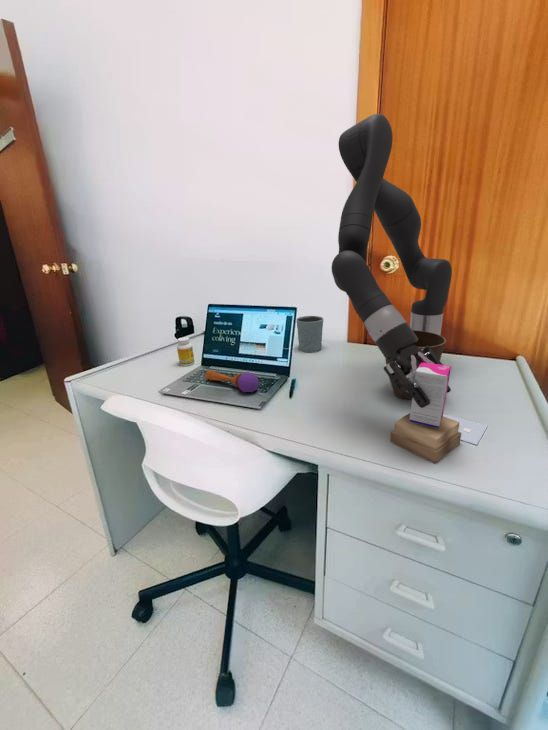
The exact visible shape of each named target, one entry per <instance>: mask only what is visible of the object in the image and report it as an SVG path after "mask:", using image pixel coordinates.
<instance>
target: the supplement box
mask: <svg viewBox="0 0 548 730" xmlns="http://www.w3.org/2000/svg"><path fill="white" fill-rule="evenodd" d="M451 370H452V366H451V365H444V364H442V365H439V364H433V363H426V362H421V364H420V365H419V367H418V368H417V370H416V373H415V379H416V380H417V381H418V385H419V386H418V387H421V389H422V390H423V392H424V393H425V395H426V396H427V397H428V399H429V400H430V404H429V405H427V406H425V407H423V408H421V407H420V406H419V405H418V404H417V403H416V401H415V400H414V399H413V397H412V399H411V406H410V412H411V413H410V412H409V413H410V419H409V422H412V423H416V424H421V425H425V426H429V427H434V428H439V425H440V422H441V419H442V417H443V414H445V411H444V410H445V406H446V401H447V400H446V399H447V395H448V393H447V389H448V385H449V382H450V377H451V372H452V371H451Z"/></svg>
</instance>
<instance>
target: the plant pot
mask: <svg viewBox="0 0 548 730" xmlns="http://www.w3.org/2000/svg"><path fill="white" fill-rule="evenodd" d="M412 331H413V332H414V333H415V335H416V336H417V338H418V341H417V343H416V345H417V347H418V348H420V349H423V348H424V347H426V346H430V348H431V349H432V350H433V352H434V353H435V355H436V356H437V357H438V359H439V360H440V361H441V358H442V355H443V351H444V349H445V346H446V342H447V341H446V338H445V337H444V336H442V335H441V336H440V335H438V334H435V333H431V332H426V331H417V330H412ZM384 358H385V357H384ZM390 362H392V360H391V359H386V358H385V363H386V365H387V364H389V363H390ZM433 363H434V364H435V362H433ZM386 365H385V366H386ZM398 380H399V382H400V383H401V385H402V384H403V382H402V381H401V379H400V378H399V379H398ZM389 382H390V386H391V387H392V391H393V394H394V395H395V396H396V397H398V398H401V399H404V400H405V399H406V400H412V396H411V394H410V393H409V392H406V391H403V392H399V391H398V389H397V388H396V386H395V385H394V383H393V382H392V380H391V379H390V378H389ZM410 383H411V381H410Z"/></svg>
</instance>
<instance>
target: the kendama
mask: <svg viewBox="0 0 548 730" xmlns="http://www.w3.org/2000/svg"><path fill="white" fill-rule="evenodd" d="M204 374H205V375H204V376H205V379H206V380H207V379H209V380H208V381H217V382H218V381H221V382H231V383H233V384H234V386H235V387H237V389H240V391H242V392H243V393H246V392H251V393H253V392H255V391H256V390H257V388H259V377H258V376H257V375H256V374H254V373H253V372H250V371H249V372H247V371H246V372H244V373H238V374H237V375H234V376H233V377H232V376H229V375H226V374H224V373H220V372H217V371H214V370H211V369H208V370H207V371H205V373H204Z"/></svg>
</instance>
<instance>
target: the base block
mask: <svg viewBox="0 0 548 730" xmlns="http://www.w3.org/2000/svg"><path fill="white" fill-rule="evenodd" d="M410 413H411V411H410V412H409V413H406V414H405V415H404V416H402V417H400V418H398V419H397V420H396V421H394V429H393V430H392V431H390V436H389V437H390V439H389V442H390V443H392V444H393V445H396V446H398V447H400V448H401V449H402V448H403V450H406V451H408V452H411V453H413V454H414V455H417V456H419V457H421V458H423V459H425V460H427V461H429V462H431V463H433V464H436V463H437V462H439V461H440V460H441V459H442V458H444V457H445V456H446V455H447V454H448V453H450V452H451V451H452V450H454V448H456V447H457V446H458V445H459V444H461V440H460V439H461V433H460V432H458V429H459V423H460V422H457V421H454V420H452V419H449V418H446V417H444V416H443V417H442V419H441V422H440V425H439V428H434V427H429V426H425V425H421V424H416V423H412V422H409V419H410Z"/></svg>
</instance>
